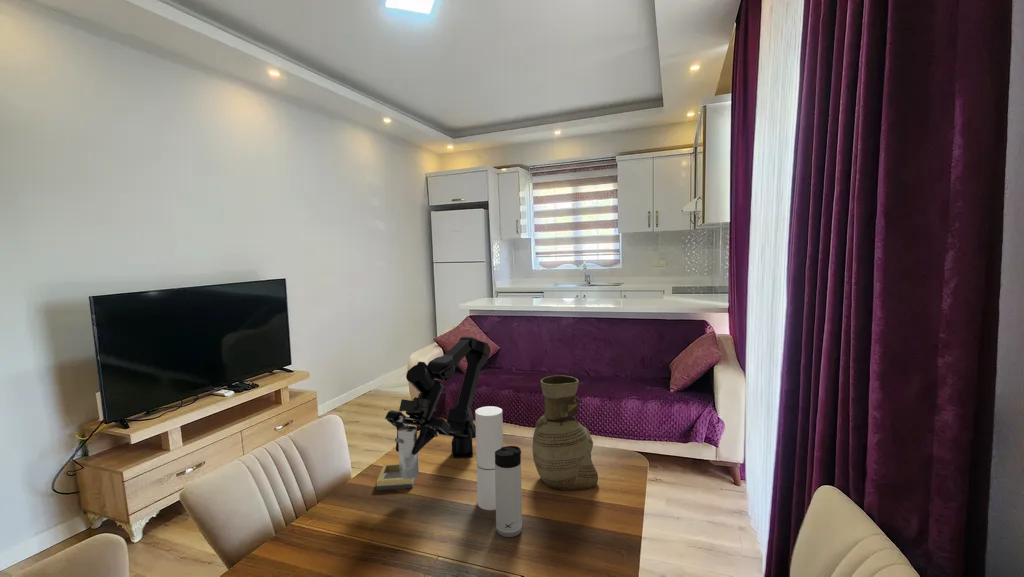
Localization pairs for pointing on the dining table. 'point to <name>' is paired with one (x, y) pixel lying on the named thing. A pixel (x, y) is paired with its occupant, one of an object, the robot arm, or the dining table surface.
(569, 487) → the ceramic vessel
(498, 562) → the dining table surface
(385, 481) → the plate
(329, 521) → the dining table surface
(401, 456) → the spout can
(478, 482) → the cylindrical container
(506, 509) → the travel mug
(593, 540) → the dining table surface
